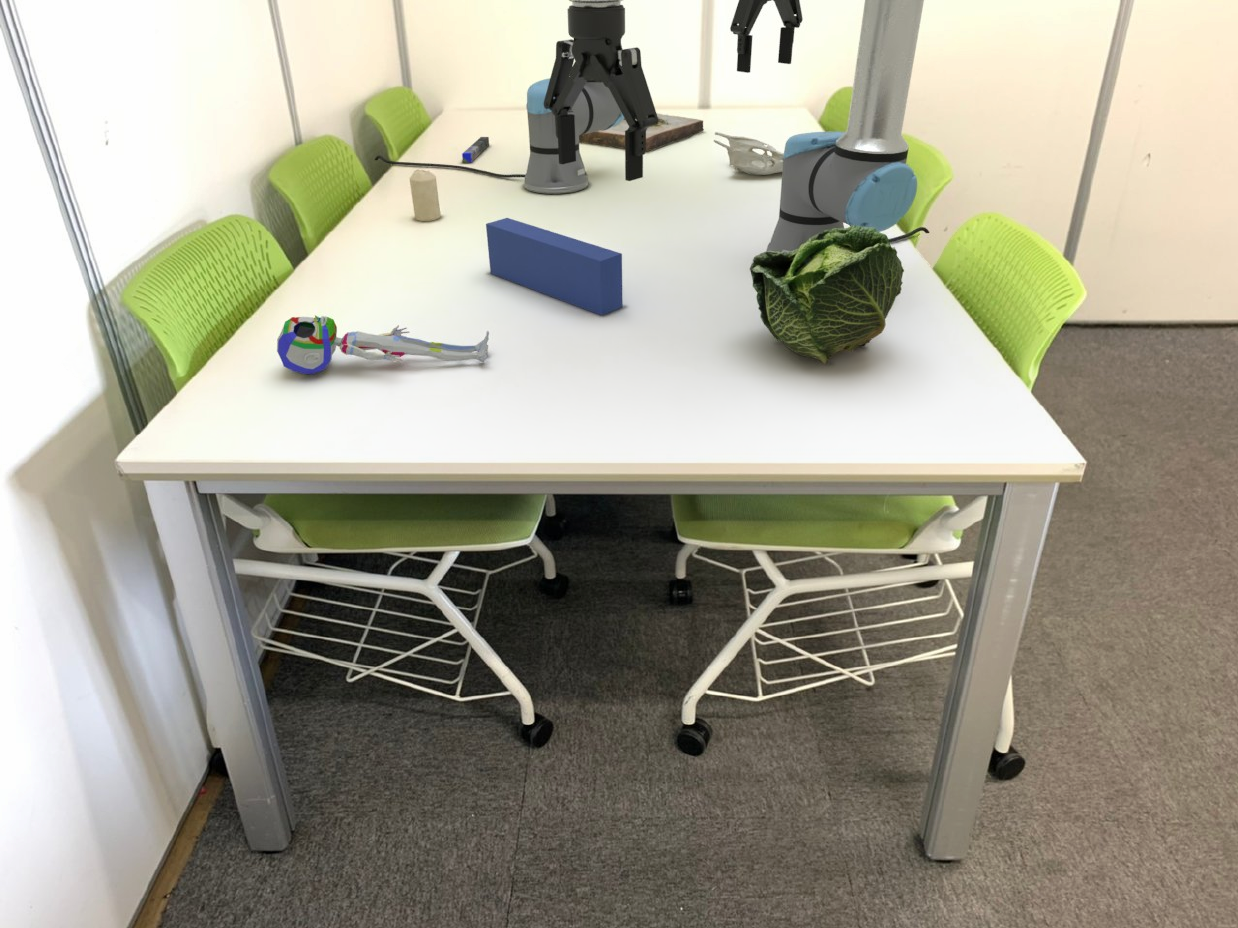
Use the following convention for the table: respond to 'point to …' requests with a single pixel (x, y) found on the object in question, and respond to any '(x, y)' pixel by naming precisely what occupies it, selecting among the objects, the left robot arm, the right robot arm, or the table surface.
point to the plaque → (648, 132)
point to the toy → (358, 345)
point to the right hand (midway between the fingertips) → (599, 170)
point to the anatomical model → (752, 156)
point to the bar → (556, 265)
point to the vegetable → (828, 290)
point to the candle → (425, 195)
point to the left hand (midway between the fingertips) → (764, 67)
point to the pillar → (475, 149)
